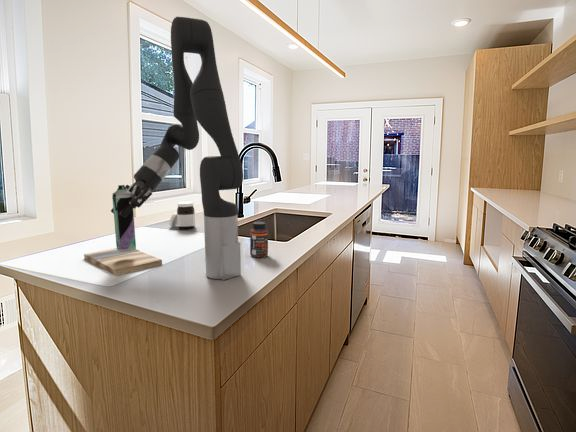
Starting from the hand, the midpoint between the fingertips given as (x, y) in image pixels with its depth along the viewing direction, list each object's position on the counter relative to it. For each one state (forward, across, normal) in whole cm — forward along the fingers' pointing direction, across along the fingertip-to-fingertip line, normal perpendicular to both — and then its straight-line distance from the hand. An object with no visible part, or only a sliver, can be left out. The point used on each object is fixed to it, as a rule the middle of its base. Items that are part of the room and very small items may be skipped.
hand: (117, 214), depth 111 cm
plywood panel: (+10, -3, +12) cm, 16 cm away
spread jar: (-18, -34, +42) cm, 57 cm away
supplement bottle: (-14, +24, +36) cm, 46 cm away
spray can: (+7, 0, +9) cm, 12 cm away
